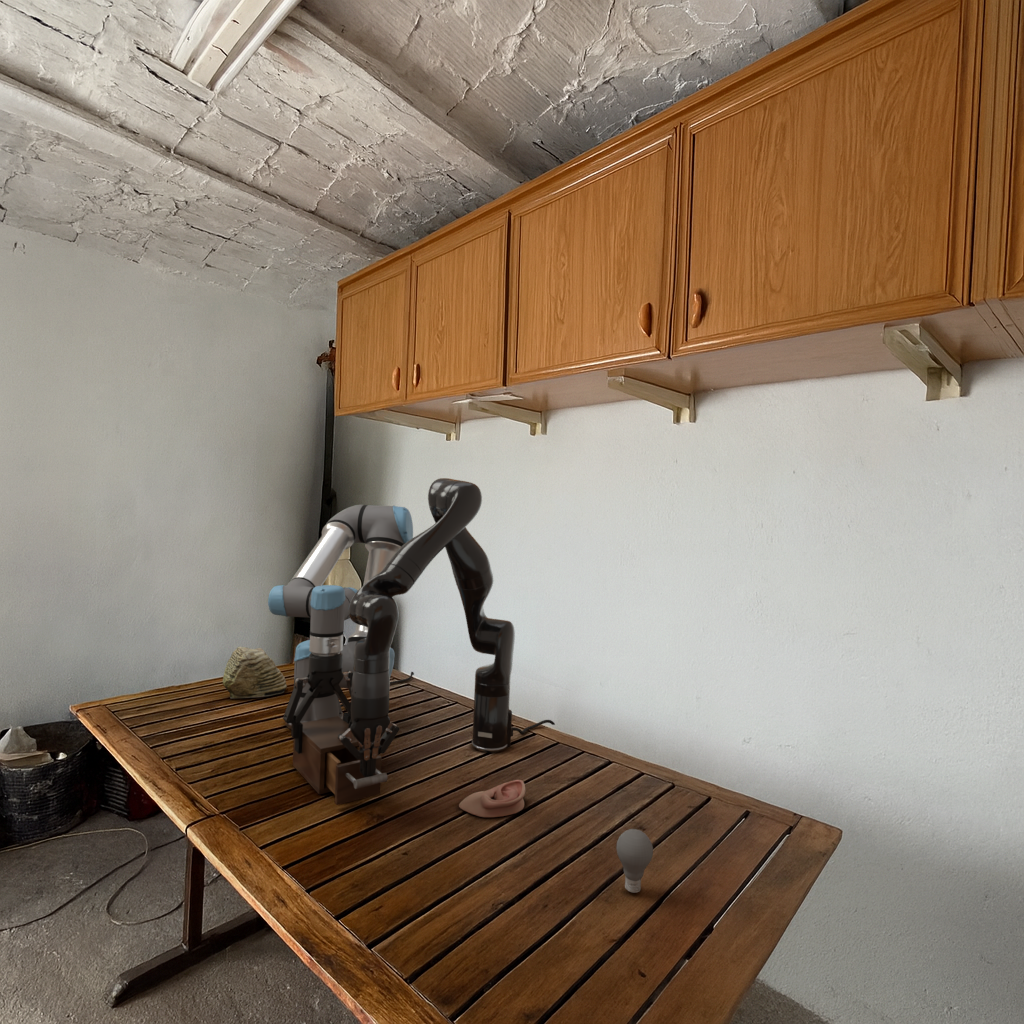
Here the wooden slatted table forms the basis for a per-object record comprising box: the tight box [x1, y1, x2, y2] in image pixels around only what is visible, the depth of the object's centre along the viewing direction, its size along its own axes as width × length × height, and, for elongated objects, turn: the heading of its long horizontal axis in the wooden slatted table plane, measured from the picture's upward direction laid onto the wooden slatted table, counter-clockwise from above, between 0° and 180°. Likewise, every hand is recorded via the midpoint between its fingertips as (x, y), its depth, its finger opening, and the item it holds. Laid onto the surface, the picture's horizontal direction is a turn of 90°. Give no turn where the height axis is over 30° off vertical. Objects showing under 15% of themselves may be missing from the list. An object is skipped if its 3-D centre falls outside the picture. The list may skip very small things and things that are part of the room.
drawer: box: [324, 746, 388, 806], centre depth 135 cm, size 22×10×8 cm, turn 37°
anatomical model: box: [458, 779, 527, 818], centre depth 133 cm, size 13×4×12 cm
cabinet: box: [292, 716, 359, 795], centre depth 145 cm, size 18×11×10 cm, turn 37°
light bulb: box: [615, 828, 654, 894], centre depth 106 cm, size 6×6×10 cm
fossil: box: [222, 646, 288, 699], centre depth 198 cm, size 9×18×15 cm, turn 132°
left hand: (322, 746), depth 148 cm, fingers closed on cabinet, 11 cm apart
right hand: (367, 775), depth 128 cm, fingers closed
